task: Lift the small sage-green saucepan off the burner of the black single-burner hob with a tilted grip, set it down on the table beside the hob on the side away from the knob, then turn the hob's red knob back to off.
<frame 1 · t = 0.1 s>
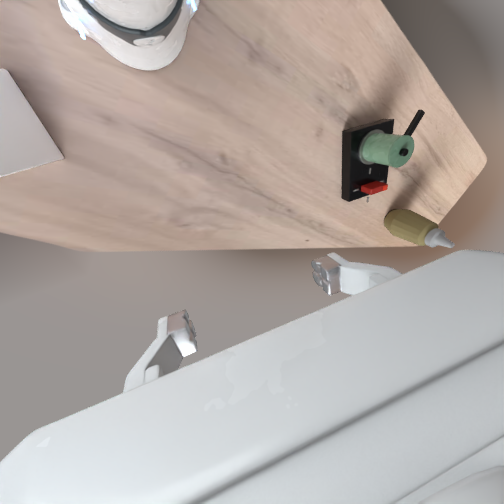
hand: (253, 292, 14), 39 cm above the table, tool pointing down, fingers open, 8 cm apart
squeeze bottle: (391, 218, 70), on the table
burner: (362, 145, 55), resting on hob
saucepan: (373, 147, 52), point 4 cm above the table, touching burner
hob: (361, 161, 57), on the table
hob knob: (374, 187, 56), point 5 cm above the table, hinge at 90.0°
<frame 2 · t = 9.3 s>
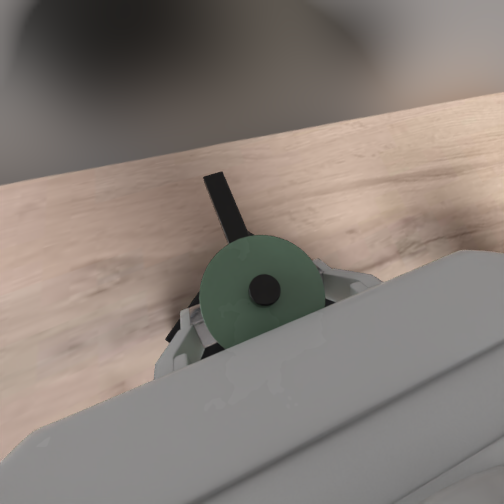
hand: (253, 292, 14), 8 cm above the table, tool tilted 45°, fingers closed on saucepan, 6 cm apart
saucepan: (254, 308, 18), point 4 cm above the table, touching burner, gripper
hob: (285, 334, 21), on the table
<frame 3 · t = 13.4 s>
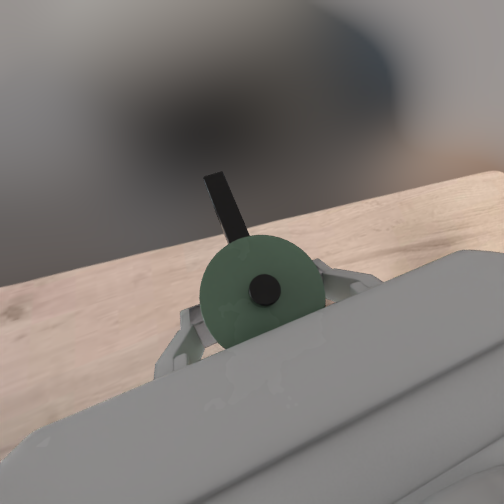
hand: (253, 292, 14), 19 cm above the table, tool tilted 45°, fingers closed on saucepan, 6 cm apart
saucepan: (254, 308, 18), point 15 cm above the table, touching gripper
when the fingers open (4 cm above the table, at t = 17.9 s): saucepan stays where it is, on the table.
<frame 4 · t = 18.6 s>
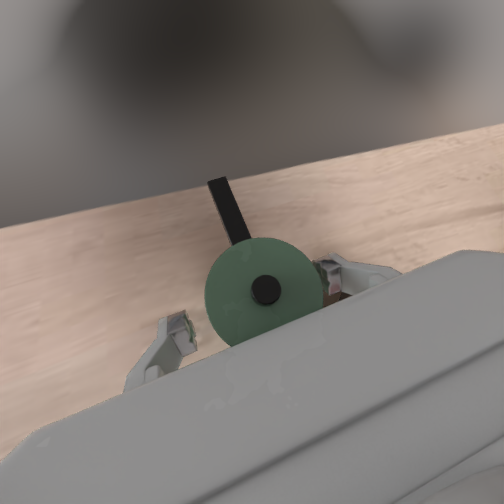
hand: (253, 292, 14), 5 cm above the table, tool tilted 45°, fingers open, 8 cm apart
saucepan: (255, 307, 19), on the table
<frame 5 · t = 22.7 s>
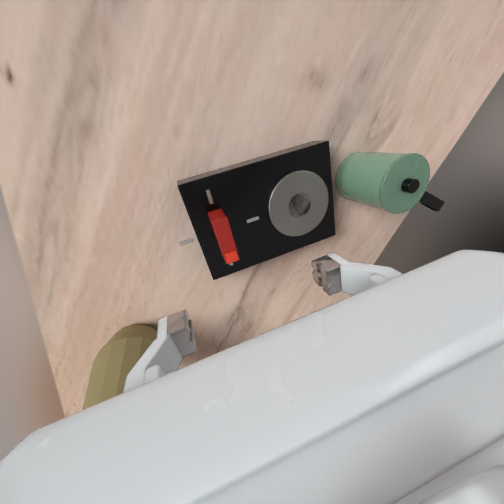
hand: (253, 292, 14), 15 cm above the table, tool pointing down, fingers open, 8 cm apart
squeeze bottle: (137, 340, 31), on the table
burner: (285, 198, 29), resting on hob
saucepan: (355, 176, 30), on the table
hob: (259, 207, 28), on the table
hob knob: (223, 236, 23), point 5 cm above the table, hinge at 90.0°
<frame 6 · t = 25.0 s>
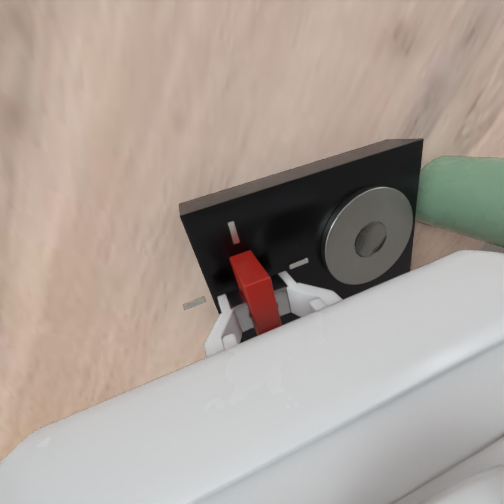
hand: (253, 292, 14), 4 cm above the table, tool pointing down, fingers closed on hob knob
burner: (338, 224, 19), resting on hob
saucepan: (434, 190, 21), on the table
hob: (301, 238, 19), on the table
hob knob: (257, 298, 14), point 5 cm above the table, hinge at 90.1°, touching gripper
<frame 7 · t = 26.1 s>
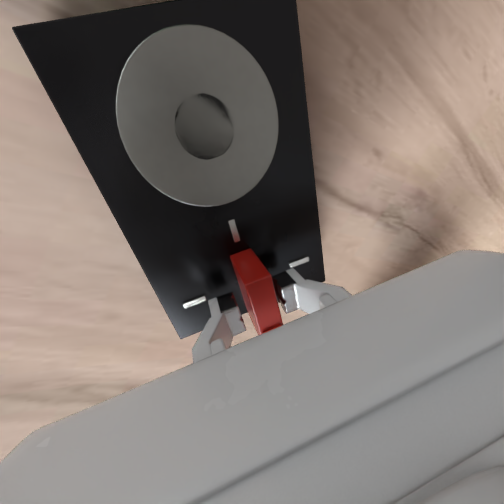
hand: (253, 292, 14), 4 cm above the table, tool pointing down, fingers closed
burner: (198, 132, 14), resting on hob
hob: (216, 190, 15), on the table
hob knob: (257, 296, 14), point 5 cm above the table, hinge at 0.0°
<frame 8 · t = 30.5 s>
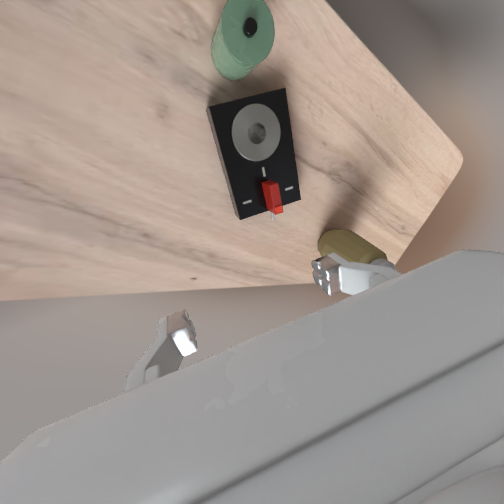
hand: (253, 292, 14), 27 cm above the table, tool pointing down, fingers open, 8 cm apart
squeeze bottle: (329, 242, 49), on the table
burner: (249, 134, 36), resting on hob
saucepan: (232, 54, 31), on the table
hob: (254, 158, 38), on the table
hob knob: (272, 197, 36), point 5 cm above the table, hinge at 0.0°
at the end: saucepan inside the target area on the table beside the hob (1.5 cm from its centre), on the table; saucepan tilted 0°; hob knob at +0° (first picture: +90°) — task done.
